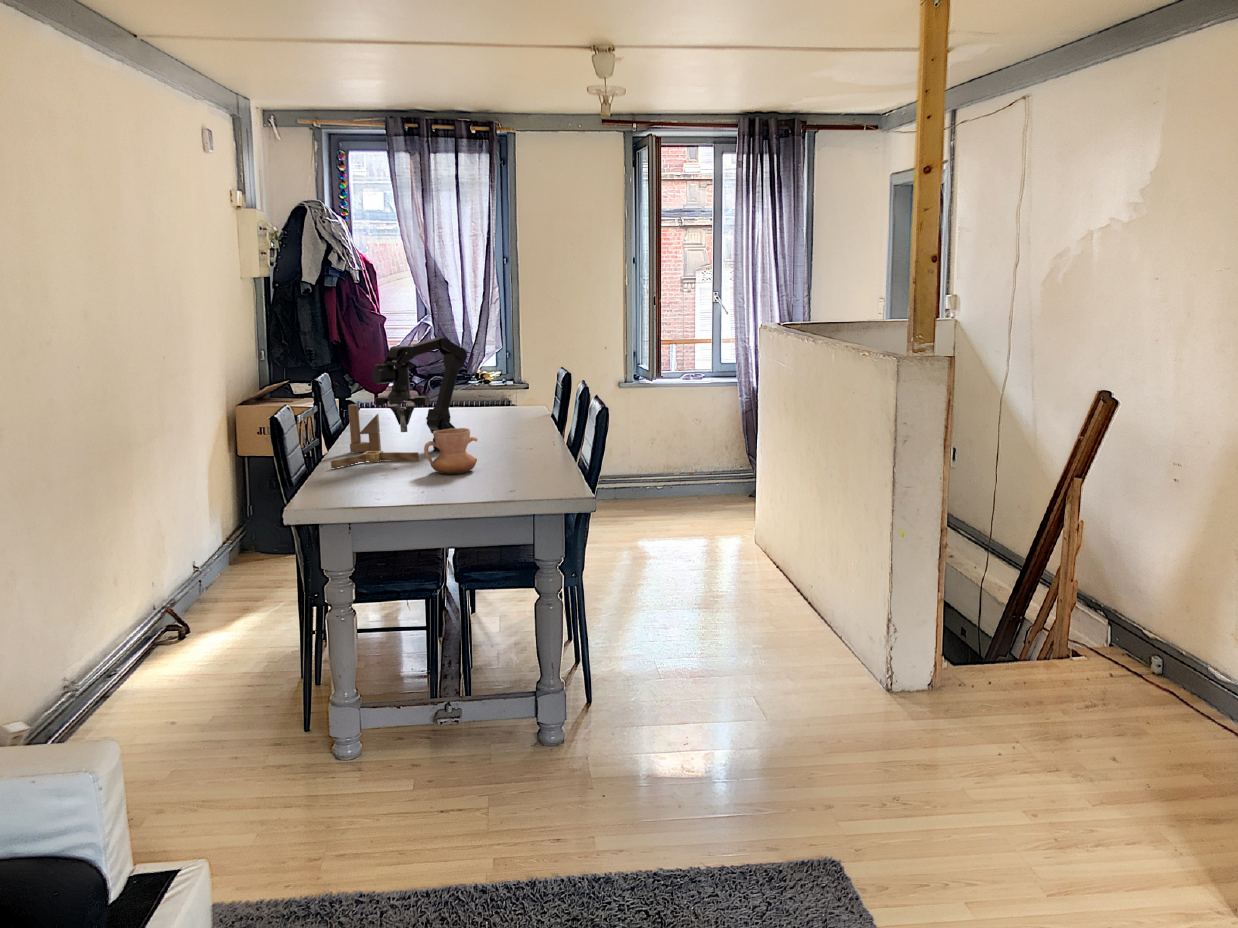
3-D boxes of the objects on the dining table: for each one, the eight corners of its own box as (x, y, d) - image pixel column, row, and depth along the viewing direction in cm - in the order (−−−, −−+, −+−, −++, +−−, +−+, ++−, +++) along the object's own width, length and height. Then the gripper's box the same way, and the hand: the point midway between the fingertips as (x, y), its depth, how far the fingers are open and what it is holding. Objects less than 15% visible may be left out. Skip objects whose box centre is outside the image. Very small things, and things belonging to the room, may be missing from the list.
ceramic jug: (476, 466, 351) (473, 425, 348) (483, 473, 337) (480, 431, 335) (423, 471, 346) (420, 430, 343) (428, 479, 332) (424, 436, 330)
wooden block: (379, 452, 381) (375, 404, 377) (350, 453, 380) (346, 405, 377) (381, 450, 384) (377, 403, 381) (352, 451, 384) (348, 404, 380)
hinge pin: (409, 430, 370) (408, 406, 368) (406, 432, 366) (405, 408, 365) (401, 430, 370) (399, 406, 368) (398, 432, 367) (396, 408, 365)
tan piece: (421, 459, 365) (420, 451, 365) (404, 469, 347) (403, 461, 347) (351, 459, 369) (350, 451, 368) (330, 469, 351) (330, 461, 350)
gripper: (367, 384, 358) (370, 428, 361) (419, 384, 356) (421, 428, 359) (378, 380, 369) (381, 423, 372) (428, 380, 367) (431, 423, 370)
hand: (403, 424), depth 368 cm, fingers closed on hinge pin, 2 cm apart
